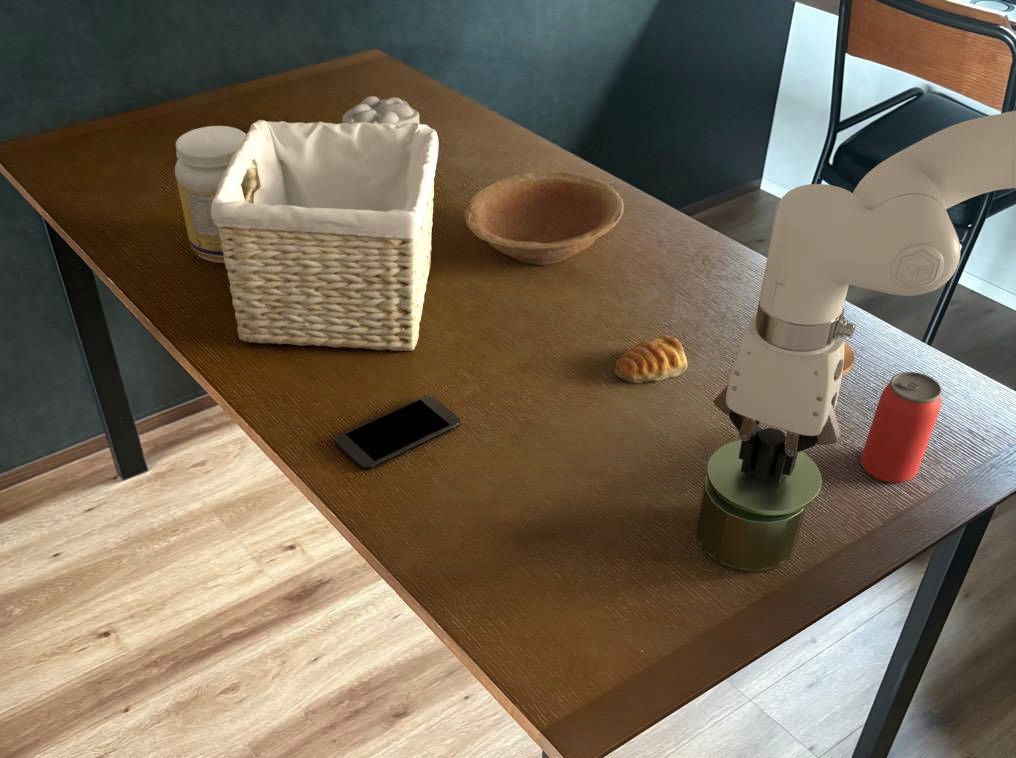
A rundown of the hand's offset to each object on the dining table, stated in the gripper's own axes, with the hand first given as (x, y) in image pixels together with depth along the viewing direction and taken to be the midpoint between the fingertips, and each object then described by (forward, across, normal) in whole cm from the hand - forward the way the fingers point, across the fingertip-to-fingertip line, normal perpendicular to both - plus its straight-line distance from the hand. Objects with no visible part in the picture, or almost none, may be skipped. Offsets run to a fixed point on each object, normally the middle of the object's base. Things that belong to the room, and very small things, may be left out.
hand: (764, 469), depth 113 cm
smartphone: (+9, +44, +5) cm, 45 cm away
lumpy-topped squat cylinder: (+9, +92, -59) cm, 110 cm away
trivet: (+10, +6, -38) cm, 40 cm away
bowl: (+10, +51, -44) cm, 68 cm away
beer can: (+10, -10, -20) cm, 25 cm away
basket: (+9, +68, -16) cm, 70 cm away
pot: (+10, 0, 0) cm, 10 cm away
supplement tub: (+9, +93, -20) cm, 95 cm away
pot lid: (+1, 0, 0) cm, 1 cm away
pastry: (+10, +23, -24) cm, 35 cm away
